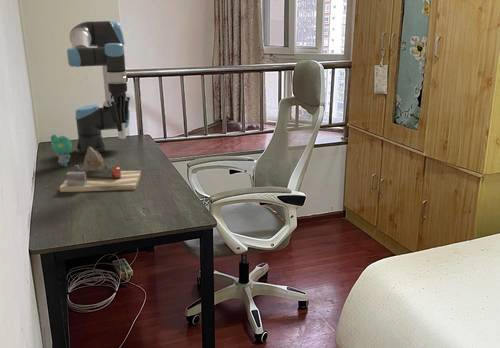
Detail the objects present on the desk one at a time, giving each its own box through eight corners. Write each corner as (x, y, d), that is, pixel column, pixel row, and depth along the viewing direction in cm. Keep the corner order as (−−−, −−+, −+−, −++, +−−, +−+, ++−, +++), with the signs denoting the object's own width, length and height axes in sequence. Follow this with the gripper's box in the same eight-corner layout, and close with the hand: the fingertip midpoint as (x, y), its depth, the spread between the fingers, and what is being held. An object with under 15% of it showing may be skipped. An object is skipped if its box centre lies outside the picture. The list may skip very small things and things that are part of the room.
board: (72, 177, 218) (70, 161, 216) (141, 174, 220) (140, 159, 218) (60, 192, 200) (57, 175, 198) (135, 189, 202) (134, 173, 200)
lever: (83, 174, 213) (82, 165, 212) (122, 176, 211) (121, 166, 210) (79, 177, 210) (78, 168, 209) (119, 179, 208) (118, 169, 206)
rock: (113, 158, 223) (98, 156, 217) (106, 179, 225) (90, 177, 219) (98, 146, 232) (83, 144, 225) (91, 166, 234) (76, 164, 228)
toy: (50, 166, 232) (46, 135, 228) (63, 162, 239) (60, 132, 235) (64, 169, 228) (60, 137, 224) (77, 164, 235) (74, 134, 231)
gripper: (115, 84, 196) (120, 142, 203) (133, 80, 208) (138, 135, 215) (99, 83, 199) (105, 141, 206) (118, 79, 210) (123, 134, 218)
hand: (122, 138), depth 211 cm, fingers closed
